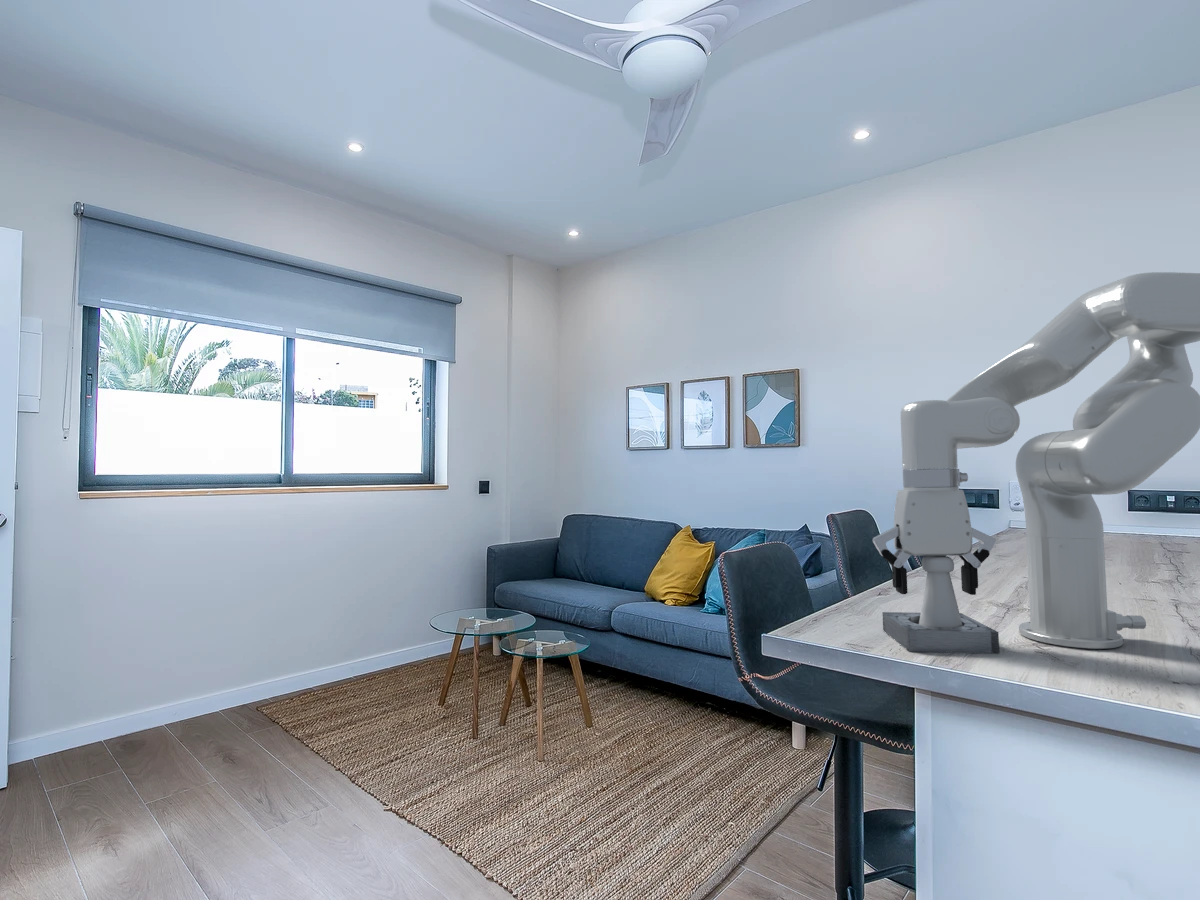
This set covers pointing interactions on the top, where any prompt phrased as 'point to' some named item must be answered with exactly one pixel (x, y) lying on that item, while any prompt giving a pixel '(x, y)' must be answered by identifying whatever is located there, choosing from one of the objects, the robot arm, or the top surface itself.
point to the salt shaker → (939, 594)
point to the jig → (940, 635)
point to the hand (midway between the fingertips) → (935, 592)
